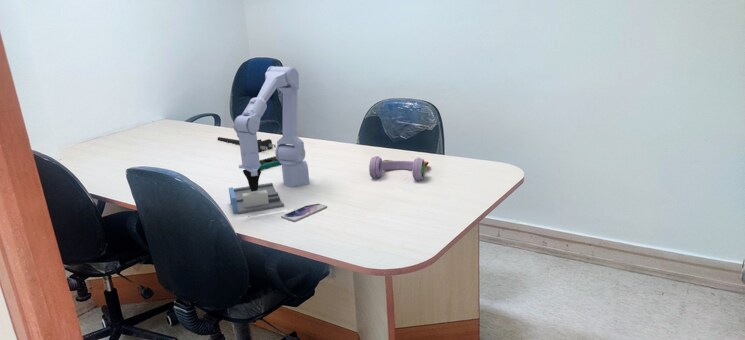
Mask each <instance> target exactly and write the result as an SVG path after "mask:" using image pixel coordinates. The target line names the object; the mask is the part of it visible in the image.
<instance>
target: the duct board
mask: <svg viewBox="0 0 745 340" xmlns="http://www.w3.org/2000/svg"><path fill="white" fill-rule="evenodd" d="M262 190H266V191H267V193H268V198H273V197H280V196H279V193H278V191H276V188H275V187H274V183H273V182H268V183H260V184H258V190H257V191H262ZM228 192H229V200H230V205H232V211H233V214H238V215H242V214H247V213H248V214H249V213H254V212H260V211H261V212H262V211H265V210H266V211H267V210H274V209H277V208H278V209H279V208H284V207H285V204H284V202H283V201H282V200H281V199H280V201H277V202H271V203H269V204H264V205H258V206H252V207H246V208H245V207H244V202H243V193H250V192H256V191H251V189H250V187H249V185H248V186H247V185H246V186H241V187H228Z"/></svg>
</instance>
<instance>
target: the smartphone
mask: <svg viewBox="0 0 745 340" xmlns="http://www.w3.org/2000/svg"><path fill="white" fill-rule="evenodd" d="M325 209H328V206H327V205H324V204H321V203H316V204H315V203H314V204H309V205H304V206H303V207H299V208H297V209H294V210H293V211H291V212H290V211H289V212H287V213H285V214H283V215H281V216H280V218H281V219H283V220H286V221H287V220H288V221H289V222H292V223H296V222H300V221H301V220H303V219H305V218H308V217H309V216H312V215H314V214H316V213H319V212H321V211H323V210H325Z"/></svg>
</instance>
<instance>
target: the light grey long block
mask: <svg viewBox="0 0 745 340" xmlns="http://www.w3.org/2000/svg"><path fill="white" fill-rule="evenodd" d="M280 200H281V198H280V196H279V197H273V198H268V193H267V191H266V190H262V191H256V192H250V193H243V202H244V207H245V208H246V207H252V206H258V205H264V204H269V203H271V202H277V201H280Z"/></svg>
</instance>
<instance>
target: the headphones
mask: <svg viewBox="0 0 745 340" xmlns="http://www.w3.org/2000/svg"><path fill="white" fill-rule="evenodd" d="M428 166H429V161H426V160H425V159H423V158H421V157H416V158H415V159H414V160H413V161H412V160H392V159H384V160H382V158H381V157H380V156H378V155H376V156H373V157H371V158H370V161H369V166H368V169H369V171H368V172H369V176H370V177H371V178H373V179H378V178H381V177H382V174H383V171H390V170H391V171H393V170H395V171H396V170H404V171H405V170H407V171H412V172H411V173H412V178H413V180H415V181H420V180H421V181H422V180H424V178H425V174H426V173H425V172H426V167H428Z"/></svg>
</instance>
